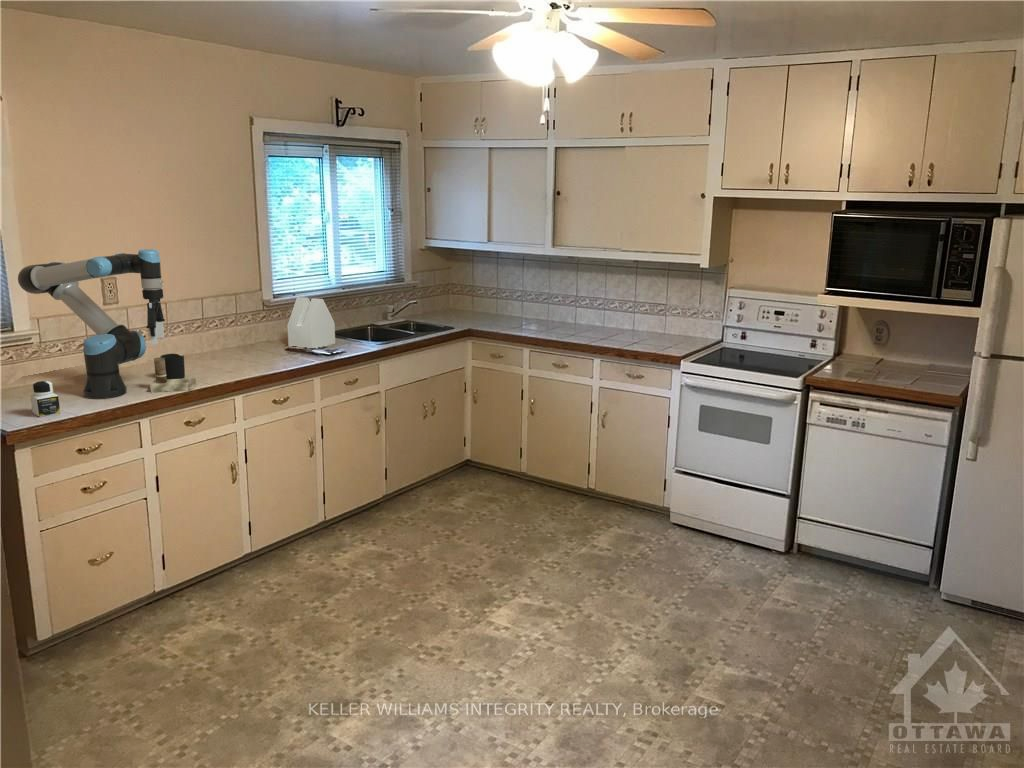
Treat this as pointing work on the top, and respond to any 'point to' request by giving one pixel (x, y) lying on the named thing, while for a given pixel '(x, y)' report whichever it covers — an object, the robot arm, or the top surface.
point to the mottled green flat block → (174, 385)
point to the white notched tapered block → (310, 324)
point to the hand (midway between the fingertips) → (157, 340)
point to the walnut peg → (160, 370)
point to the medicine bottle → (44, 399)
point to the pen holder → (174, 366)
